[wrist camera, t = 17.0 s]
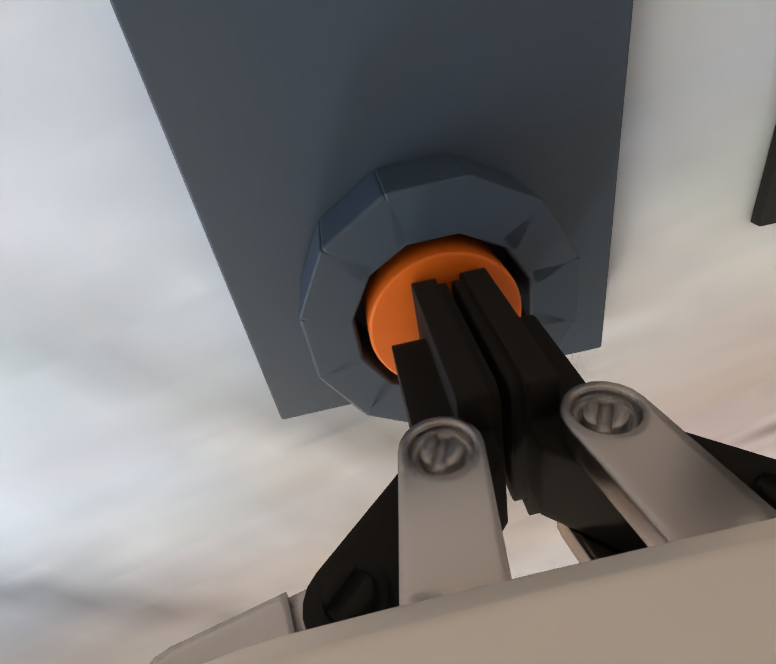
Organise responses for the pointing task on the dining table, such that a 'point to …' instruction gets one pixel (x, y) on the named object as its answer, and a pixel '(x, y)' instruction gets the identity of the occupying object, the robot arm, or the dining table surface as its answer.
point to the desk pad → (767, 190)
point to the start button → (419, 263)
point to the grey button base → (387, 160)
